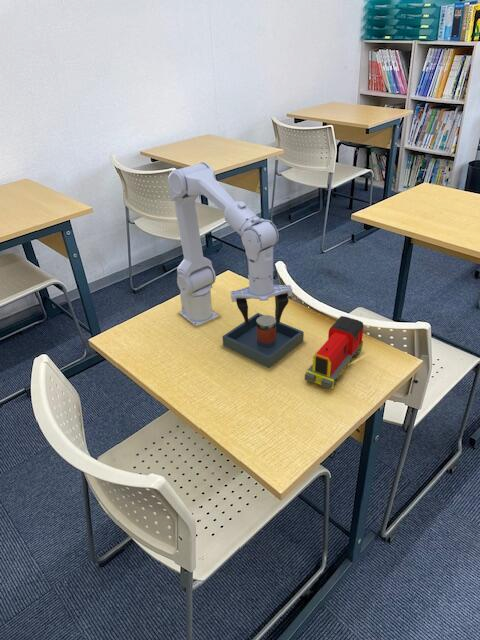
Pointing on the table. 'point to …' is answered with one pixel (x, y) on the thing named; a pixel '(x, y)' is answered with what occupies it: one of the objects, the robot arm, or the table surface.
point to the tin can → (266, 331)
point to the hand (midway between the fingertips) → (262, 322)
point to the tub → (246, 345)
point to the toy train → (336, 352)
